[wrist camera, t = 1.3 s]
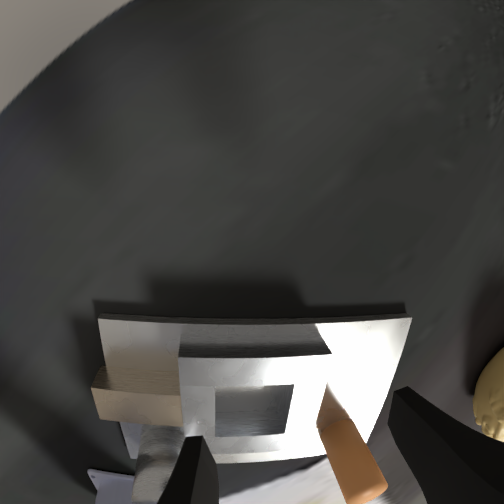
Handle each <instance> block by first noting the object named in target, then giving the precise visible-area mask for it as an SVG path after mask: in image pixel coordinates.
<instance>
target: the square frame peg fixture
mask: <svg viewBox="0 0 504 504" xmlns="http://www.w3.org/2000/svg"><path fill="white" fill-rule="evenodd" d="M332 357H333V353H332V352H331V350H330V349H329V347H328V345H327V344H326V342H325V341H324V339H323V337H322V336H321V334H320V333H309V334H278V335H205V334H181V337H180V345H179V353H178V367H179V372H176V371H157V370H142V369H130V368H119V367H109V366H100V368H99V370H98V373H97V375H96V377H95V379H94V382H93V384H92V386H91V390H92V394H93V397H94V400H95V404H96V407H97V410H98V414H99V417H100V419H104V420H111V421H119V422H128V423H137V424H148V425H161V426H178V427H184V437H185V438H186V437H190V436H201V435H203V437H204V439H205V441H206V443H207V445H208V447H209V450H210V452H211V454H242V453H261V452H274V451H285V450H294V449H302V448H308V446H309V442H310V439H311V436H312V433H313V429H314V426H315V422H316V419H317V415H318V412H319V408H320V404H321V401H322V397H323V393H324V389H325V386H326V382H327V378H328V374H329V369H330V365H331V361H332ZM266 385H282V387H281V393H280V399H279V405H278V410H266V411H243V412H215V386H266Z"/></svg>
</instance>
